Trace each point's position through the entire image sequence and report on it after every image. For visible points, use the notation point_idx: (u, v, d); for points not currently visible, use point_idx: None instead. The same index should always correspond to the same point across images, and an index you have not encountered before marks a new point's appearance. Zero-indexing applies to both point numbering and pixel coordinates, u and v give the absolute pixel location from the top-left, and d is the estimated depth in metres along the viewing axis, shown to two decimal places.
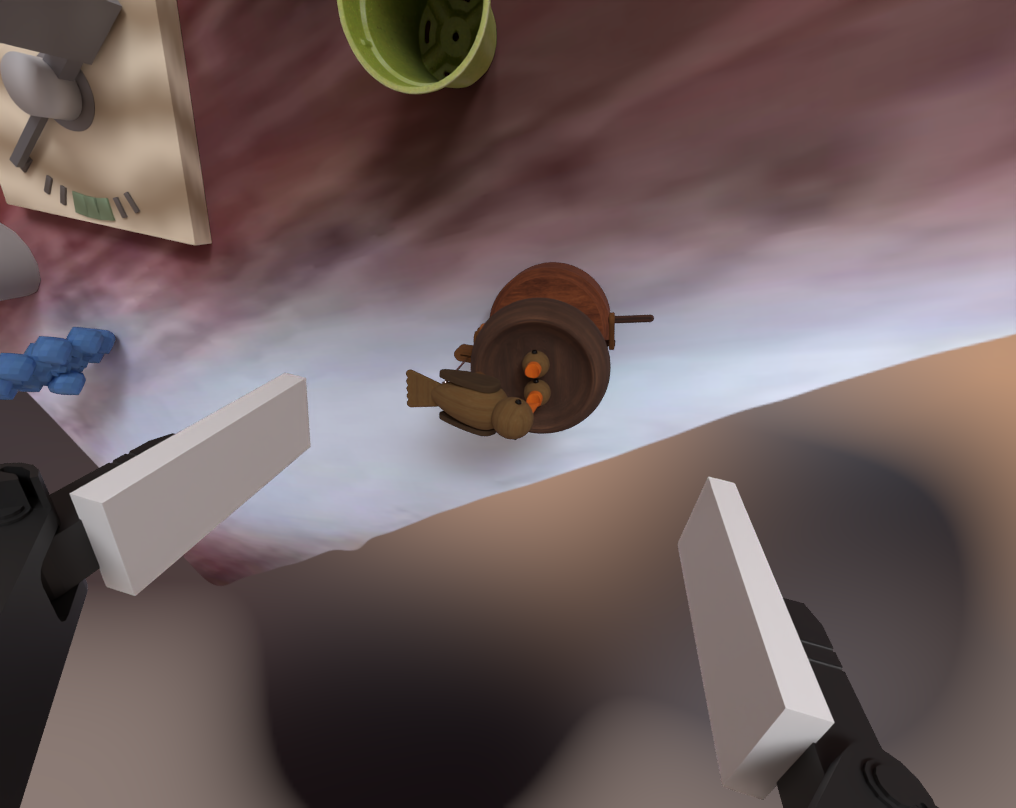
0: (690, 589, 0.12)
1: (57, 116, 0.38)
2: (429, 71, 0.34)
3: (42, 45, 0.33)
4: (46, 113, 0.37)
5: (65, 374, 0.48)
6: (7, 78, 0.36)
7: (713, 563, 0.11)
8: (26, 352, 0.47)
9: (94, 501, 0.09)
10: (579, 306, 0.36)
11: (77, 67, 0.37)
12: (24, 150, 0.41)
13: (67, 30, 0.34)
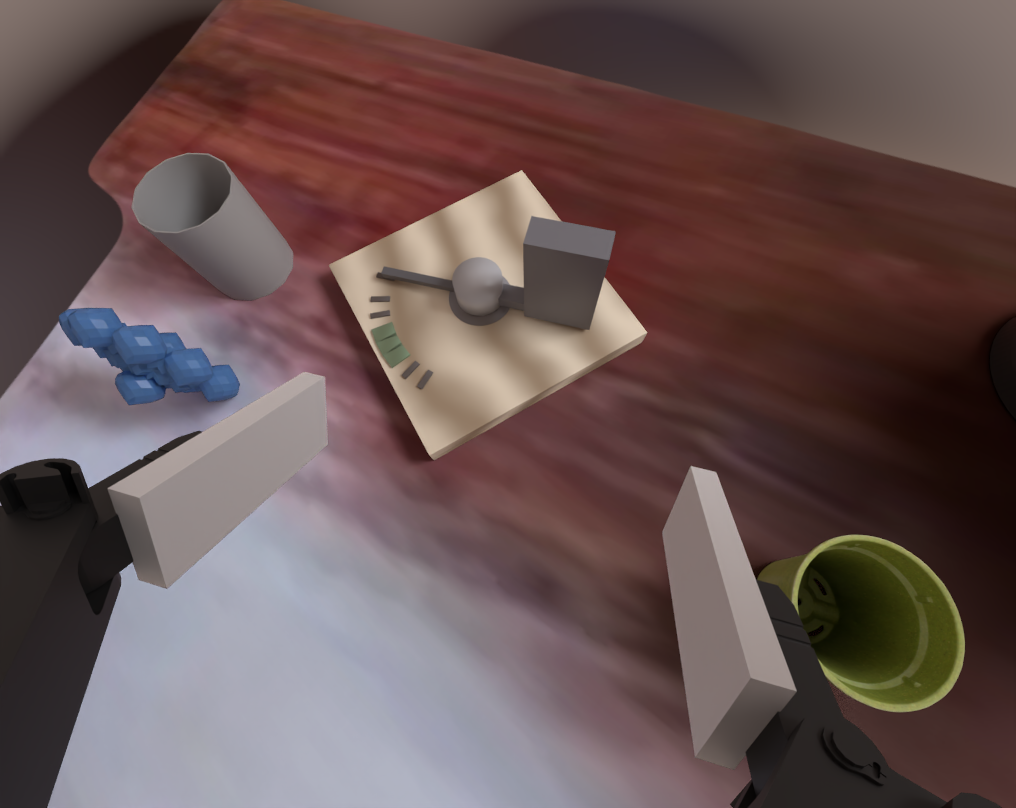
0: (672, 574, 0.12)
1: (464, 304, 0.39)
2: None
3: (531, 294, 0.36)
4: (465, 299, 0.38)
5: (154, 383, 0.35)
6: (470, 263, 0.39)
7: (692, 548, 0.11)
8: (161, 337, 0.36)
9: (132, 496, 0.09)
10: None
11: (515, 307, 0.40)
12: (404, 277, 0.41)
13: (552, 306, 0.37)
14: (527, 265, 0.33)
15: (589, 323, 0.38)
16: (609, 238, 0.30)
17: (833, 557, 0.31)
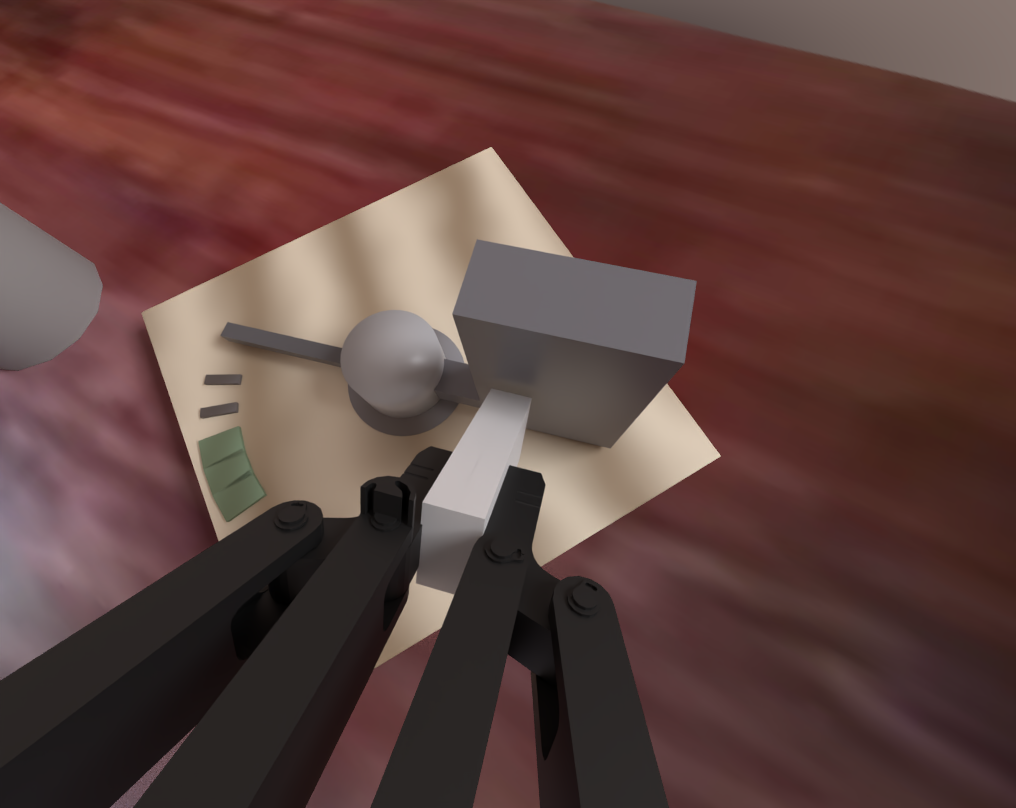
0: None
1: (367, 401, 0.20)
2: None
3: None
4: (364, 396, 0.19)
5: None
6: (377, 323, 0.20)
7: None
8: None
9: (446, 509, 0.10)
10: None
11: (468, 403, 0.21)
12: (262, 344, 0.22)
13: (538, 414, 0.18)
14: (474, 354, 0.14)
15: (611, 442, 0.19)
16: (681, 300, 0.11)
17: None
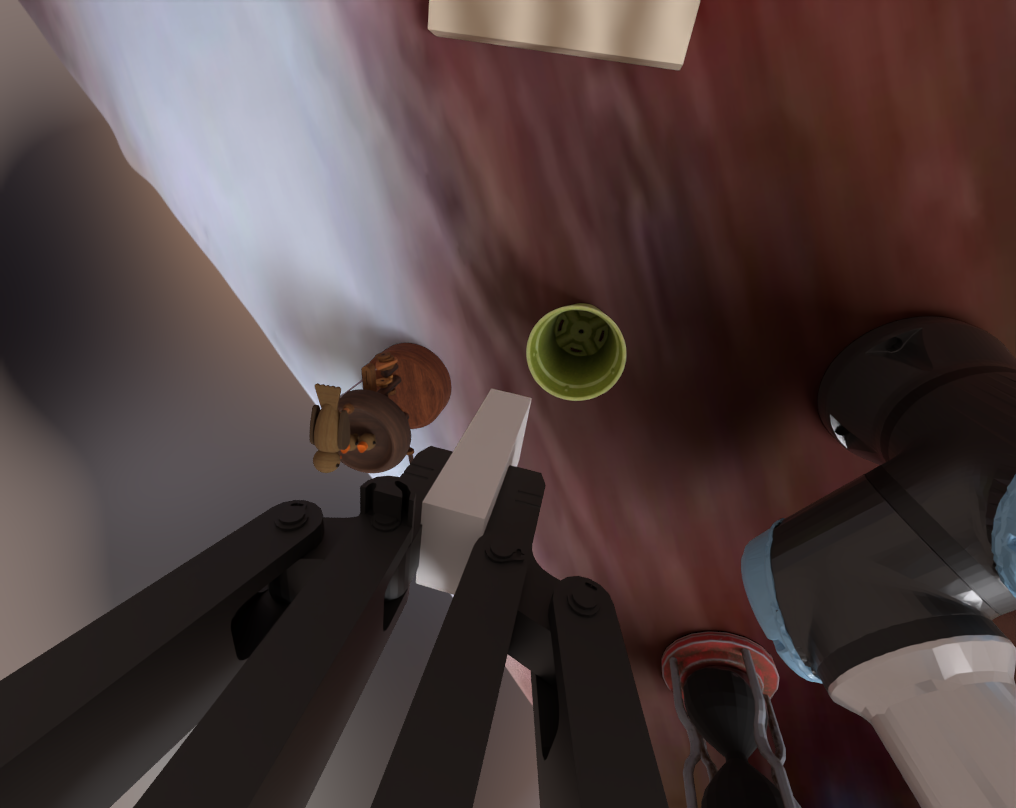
0: None
1: None
2: (564, 310, 0.48)
3: None
4: None
5: None
6: None
7: None
8: None
9: (446, 509, 0.10)
10: (420, 414, 0.54)
11: None
12: None
13: None
14: None
15: None
16: None
17: None
